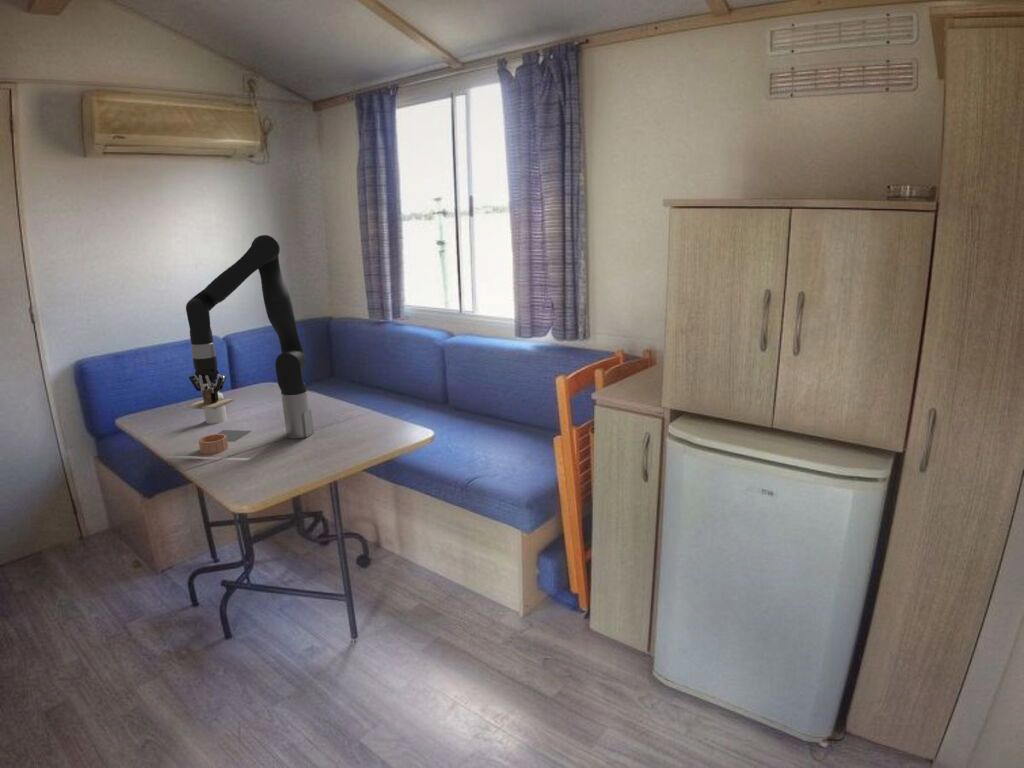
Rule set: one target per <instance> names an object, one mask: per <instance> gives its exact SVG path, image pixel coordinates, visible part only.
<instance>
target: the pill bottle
mask: <svg viewBox="0 0 1024 768" xmlns="http://www.w3.org/2000/svg"><path fill="white" fill-rule="evenodd" d="M208 388H210V387H208ZM218 398H224V394H223V393H222V392H220V391H218ZM224 399H225V398H224ZM201 400H203V396H202V398H201ZM203 410H204V417H205V422H206V424H211V425H213V424H214V425H215V424H221V423H224V422H226V421H227V420H228V415H227V411H226V410H227V409H226V405H225V406H222V407H220V408H218V409H203Z"/></svg>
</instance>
